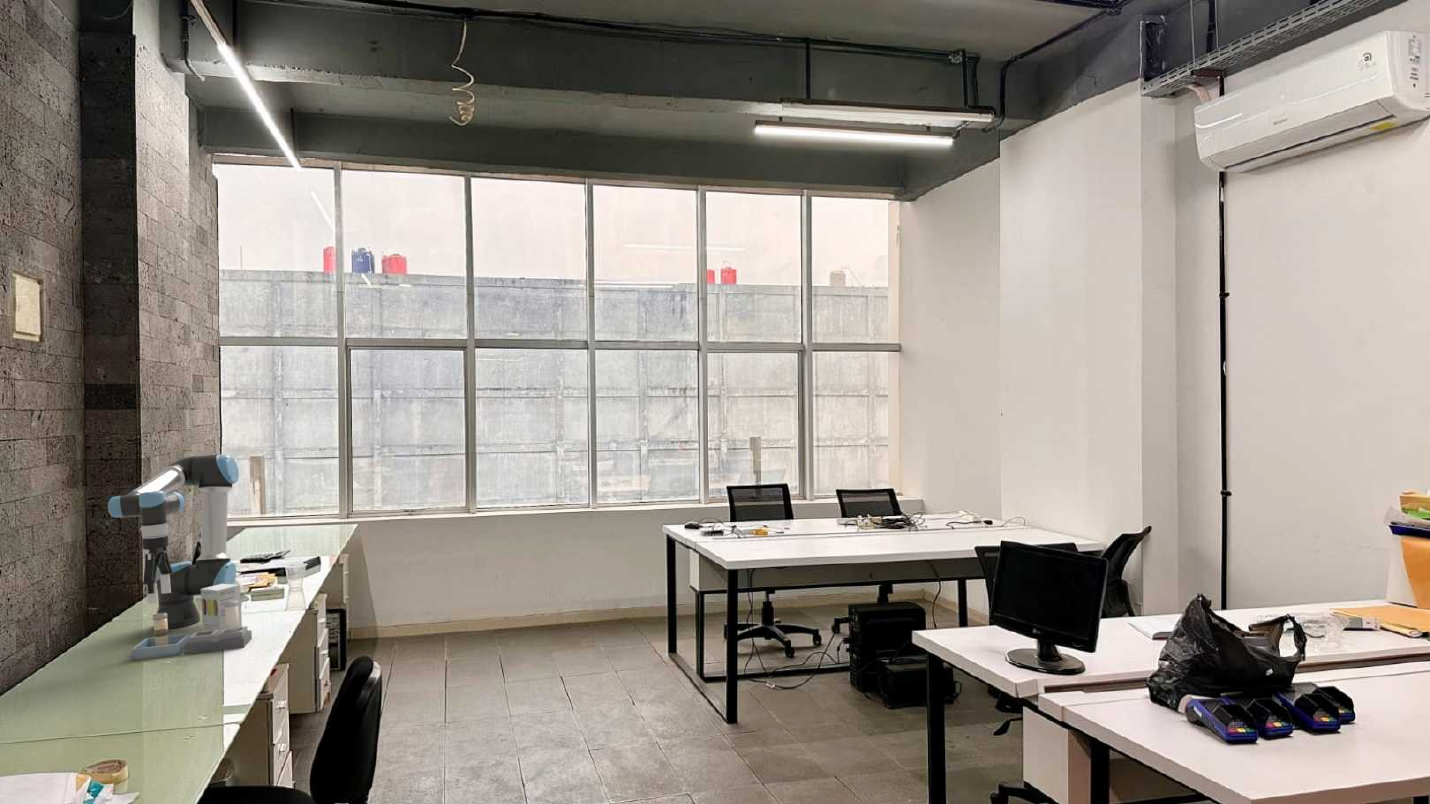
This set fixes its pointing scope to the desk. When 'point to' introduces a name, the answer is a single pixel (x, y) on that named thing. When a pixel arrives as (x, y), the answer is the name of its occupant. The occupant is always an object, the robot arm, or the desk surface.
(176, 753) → the desk surface
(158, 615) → the fuse
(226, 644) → the fuse holder
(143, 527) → the robot arm
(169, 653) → the parts tray
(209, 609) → the supplement box
